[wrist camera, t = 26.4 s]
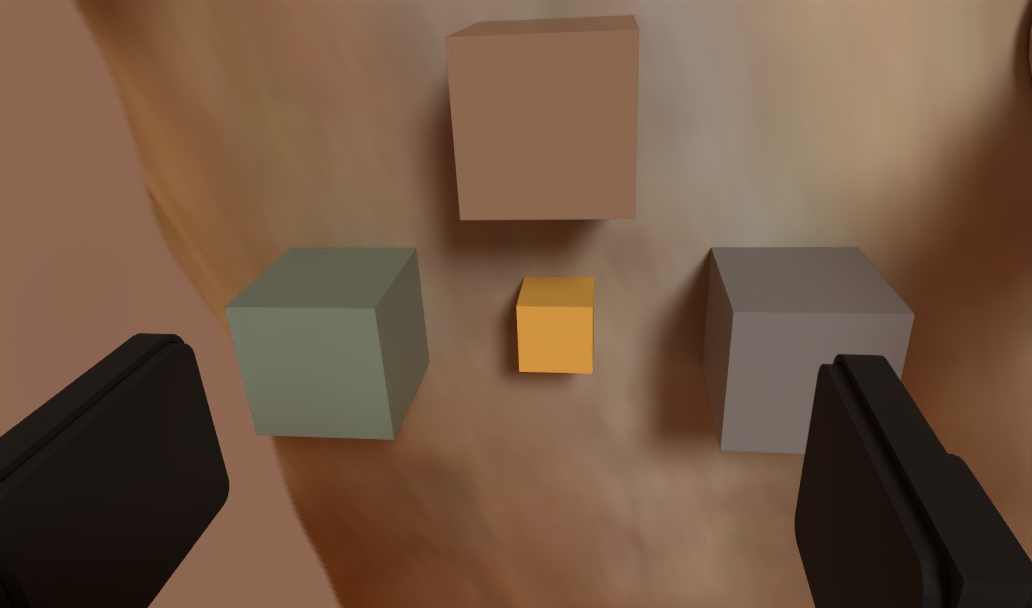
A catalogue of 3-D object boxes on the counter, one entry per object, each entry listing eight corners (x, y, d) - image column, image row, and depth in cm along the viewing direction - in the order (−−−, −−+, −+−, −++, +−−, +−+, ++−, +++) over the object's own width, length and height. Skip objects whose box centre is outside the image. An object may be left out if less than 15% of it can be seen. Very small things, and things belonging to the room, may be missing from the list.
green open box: (290, 248, 42) (224, 307, 35) (416, 248, 41) (374, 308, 34) (312, 360, 45) (256, 434, 38) (429, 362, 44) (394, 439, 37)
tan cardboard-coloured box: (478, 22, 35) (444, 37, 28) (633, 15, 34) (639, 29, 27) (488, 172, 39) (460, 220, 32) (630, 170, 38) (634, 219, 30)
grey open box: (711, 247, 39) (733, 312, 32) (857, 247, 38) (915, 314, 31) (702, 367, 42) (720, 450, 35) (836, 370, 41) (884, 457, 34)
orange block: (524, 276, 41) (516, 306, 38) (594, 276, 41) (592, 307, 37) (527, 337, 43) (519, 371, 39) (593, 338, 42) (592, 373, 39)
